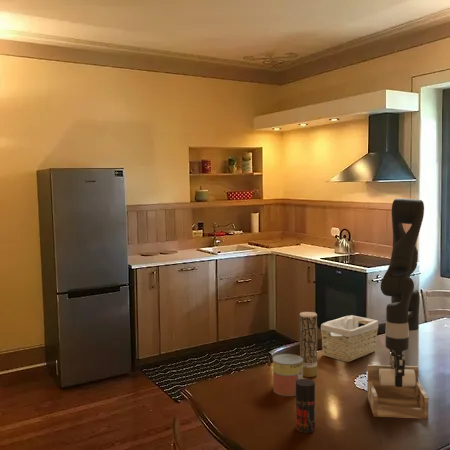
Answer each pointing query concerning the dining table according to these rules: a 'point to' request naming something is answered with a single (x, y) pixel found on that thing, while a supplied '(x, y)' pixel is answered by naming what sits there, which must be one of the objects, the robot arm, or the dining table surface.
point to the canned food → (286, 373)
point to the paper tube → (308, 343)
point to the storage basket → (349, 337)
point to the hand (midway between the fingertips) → (396, 382)
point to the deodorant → (305, 405)
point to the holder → (396, 396)
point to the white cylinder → (389, 377)
